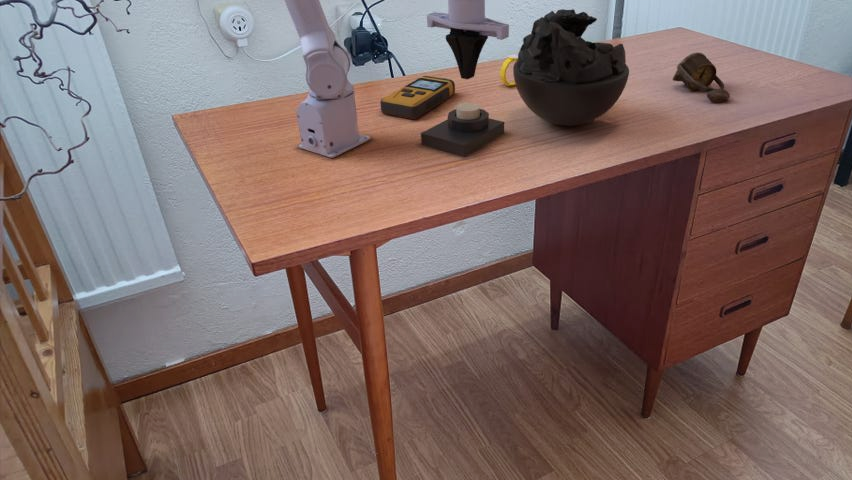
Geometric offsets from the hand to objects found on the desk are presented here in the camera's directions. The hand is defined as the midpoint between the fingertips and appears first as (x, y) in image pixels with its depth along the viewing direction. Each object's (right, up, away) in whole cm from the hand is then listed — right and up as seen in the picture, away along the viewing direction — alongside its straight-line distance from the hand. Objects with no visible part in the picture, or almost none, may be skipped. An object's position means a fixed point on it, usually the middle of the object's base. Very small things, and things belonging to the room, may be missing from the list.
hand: (467, 77), depth 108 cm
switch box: (-1, -9, +5) cm, 11 cm away
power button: (0, -6, +4) cm, 7 cm away
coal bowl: (+18, -5, +11) cm, 22 cm away
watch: (+9, +7, +29) cm, 31 cm away
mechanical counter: (+46, +4, +24) cm, 52 cm away
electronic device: (-10, 0, +19) cm, 21 cm away
